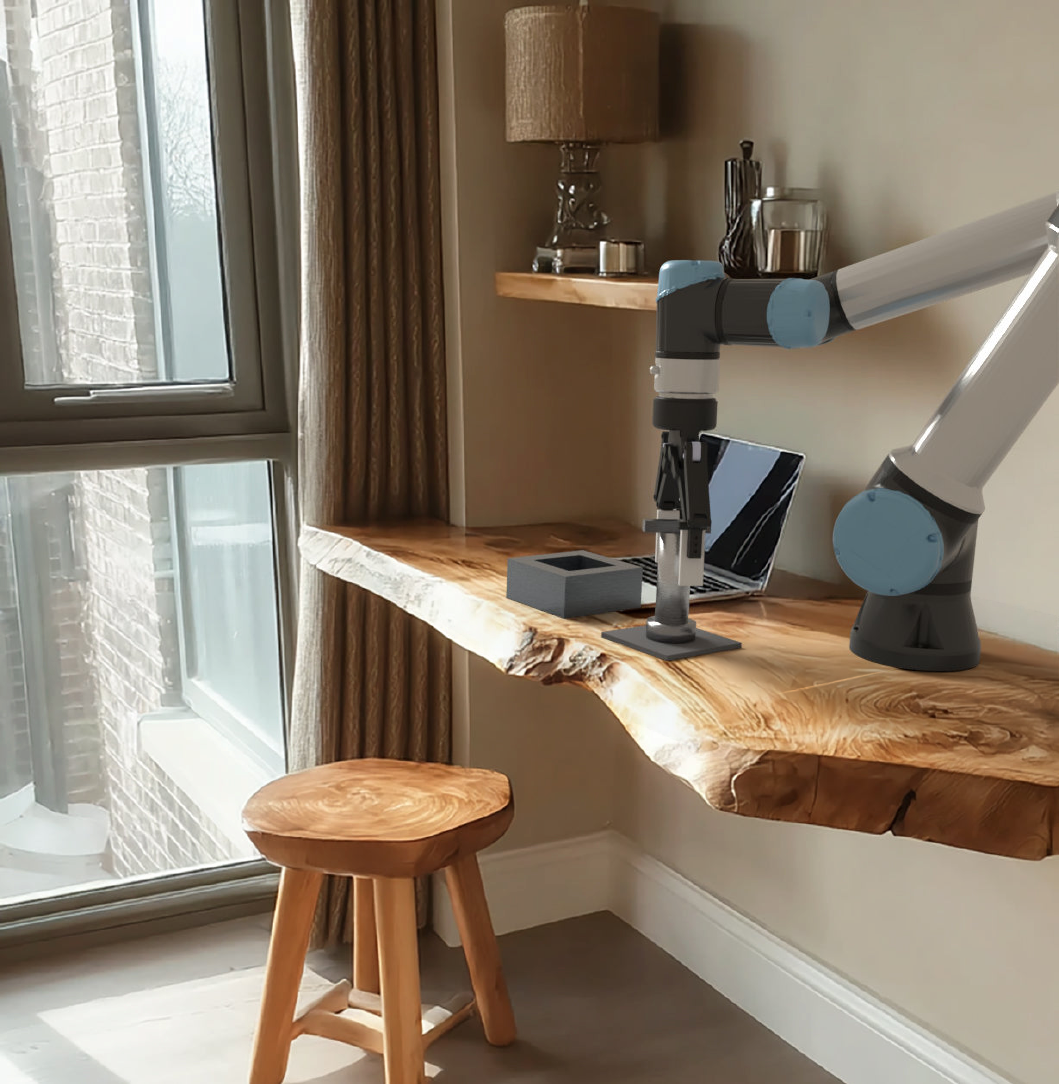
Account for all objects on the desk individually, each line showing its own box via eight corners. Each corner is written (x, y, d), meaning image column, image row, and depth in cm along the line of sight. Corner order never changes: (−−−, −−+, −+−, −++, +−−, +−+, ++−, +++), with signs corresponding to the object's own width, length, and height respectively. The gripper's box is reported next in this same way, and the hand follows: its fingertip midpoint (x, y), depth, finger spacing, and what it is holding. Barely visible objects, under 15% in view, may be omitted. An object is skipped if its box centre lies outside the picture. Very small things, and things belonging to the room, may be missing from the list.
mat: (741, 647, 156) (741, 642, 156) (666, 660, 149) (667, 655, 149) (674, 625, 165) (674, 620, 165) (601, 636, 158) (601, 632, 158)
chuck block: (640, 607, 174) (642, 567, 173) (563, 618, 167) (565, 576, 166) (581, 588, 184) (582, 550, 183) (506, 597, 177) (507, 558, 176)
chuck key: (697, 631, 160) (704, 516, 157) (708, 644, 154) (716, 525, 152) (633, 630, 159) (639, 515, 157) (642, 643, 153) (649, 524, 151)
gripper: (634, 388, 163) (628, 553, 167) (676, 402, 139) (668, 596, 143) (693, 389, 164) (685, 553, 168) (745, 403, 140) (735, 595, 143)
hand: (677, 573), depth 155 cm, fingers open, 13 cm apart
